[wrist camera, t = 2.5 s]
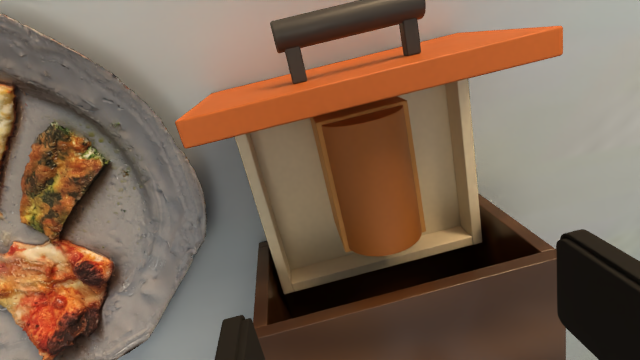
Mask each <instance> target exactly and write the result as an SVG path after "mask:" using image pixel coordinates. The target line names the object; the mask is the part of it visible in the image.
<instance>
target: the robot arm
mask: <svg viewBox="0 0 640 360" xmlns="http://www.w3.org/2000/svg"><path fill="white" fill-rule="evenodd" d="M556 251H557V313H558V317H559V319H560V321H561V323H562V324H563V325H564V326H565V327H566V328H567V329H568V330H569V331H570V332H571V333H572V334H573V335H574V336H575V337H576V338H577V339H578V340H579V341H580V342H581V343H582V344H583V345H584V346H585V347H586V348H587V349H588V350H590V351H591V352H592V353H593V354H594V355H595V356H596V357H597V358H598V359H599V360H640V261H638V260H636V259H635V258H633V257H631V256H629V255H628V254H626V253H624V252H623V251H621V250H619V249H617V248H616V247H614V246H612V245H611V244H609V243H607V242H605V241H604V240H602V239H600V238H599V237H597V236H595V235H594V234H592V233H590V232H588V231H586V230H577V231H573V232H569V233H565V234H563V235H562V236H561V238H560V240H559V241H558V242H557V245H556ZM215 360H265V357H264V354H263V351H262V348H261V345H260V342H259V339H258V336H257V333H256V330H255V328H254V325H253V322H252V320H251V319H250V318H249V319H245V317H244V316H243V315H240V316H236V317H232V318H228V319H224V320H223V322H222V327H221V332H220V337H219V341H218V346H217V351H216V356H215Z"/></svg>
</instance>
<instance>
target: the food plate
mask: <svg viewBox="0 0 640 360" xmlns="http://www.w3.org/2000/svg"><path fill="white" fill-rule="evenodd" d="M18 23H20V22H18V21H16V20H15V19H11V18H9V17H7V15H5V14H3V13H2V14H1V13H0V360H116V359H118V358H119V357H121V356H123V355H125V354H127V353H128V352H130V351H132V350H133V349H135V348H136V347H138V346H139V345H140V344H142V343H143V342H145V341H146V340H147V338H149V337H150V336H151V334H152V333H153V332H152V331H153V330H154V328H155V327H156V325H157V324H158V322H159V320H160V318H161V316H162V314H163V313H164V311H165V309H166V307H167V306H168V304H169V302H170V300H171V298H172V297H173V295H174V293H175V292H176V289H177V288H178V286H179V283H180V282H181V280H182V279H183V277H184V276H185V274H186V272H187V271H188V269H189V266H190V264H191V262H192V261H193V259H192V256H193V255H194V254H197V252H198V251H197V248H200V247H199V246H201V245H202V243H203V242H204V239H205V237H206V224H207V217H206V215H207V214H206V203H205V202H204V193H203V190H202V187H201V185H200V183H199V181H198V178H197V175H196V171H195V170H194V168H193V167H191V165H190V164H189V160H188V159H187V157H186V156H185V154H184V152H182V151H180V149H179V148H178V147H177V146H176V144H175V143H174V142H175V141H173V138H172V137H171V135H170V134H169V132H168V131H167V129H166V128H165V127H164V125H163V124H162V123H163V122H162V121H161V118H160V117H158V116H157V115H155V112H154V111H153V110H152V109H150V107H149V106H148V104H147V103H145V102H144V101H142V100H141V99H140V98H139V97H138V96H137V95H136V94H135V92H134V91H133V90H131V89H129V88H128V87H127V86H126V85H125V84H123V83H122V81H121V80H120V79H118V77H117V78H116V76H114V74H113V73H112V74H111V73H110V72H109V71H106V70H105V69H104V68H103V67H101V66H100V65H98V64H95V63H94V62H93V61H91V60H90V59H89V58H86V57H85V56H83V55H81V54H80V53H78V52H77V51H75V50H73V49H71V48H70V49H69V48H68V47H69V46H68V47H66V46H64V45H62V43H59V42H57V41H55V40H54V39H53V38H52V37H48V36H46V35H44V34H43V33H40V32H38V31H36V30H35V29H33V28H30V27H29V26H27V25H24V24H23V25H22V24H21V23H20V24H18ZM51 38H52V39H51ZM201 242H202V243H201ZM200 244H201V245H200ZM198 250H199V249H198ZM194 257H195V256H194Z"/></svg>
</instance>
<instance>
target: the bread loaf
mask: <svg viewBox="0 0 640 360" xmlns="http://www.w3.org/2000/svg"><path fill="white" fill-rule="evenodd" d="M310 120H311V125H312V129H313V133H314V137H315V141H316V146H317V150H318V154H319V158H320V162H321V167H322V171H323V175H324V179H325V184H326V188H327V192H328V196H329V200H330V205H331V209H332V213H333V217H334V221H335V224H336V227H337V230H338V233H339V236H340V238H341V241H342V244H343V247H344V250H345V252H350V251H353V252H355V253H357V254H360V255H365V256H387V255H392V254H396V253H399V252H402V251H404V250H406V249H408V248H410V247H412V246H413V245H414V244H415V243H416V242H417V241H418V240H419V239H420V237H421V234H422V233H423V232H426V227H425V220H424V213H423V206H422V199H421V192H420V185H419V178H418V171H417V165H416V158H415V151H414V144H413V137H412V130H411V123H410V116H409V109H408V103H407V100H405V99H402V98H400V97H398V96H396V97H392V98H388V99H384V100H380V101H376V102H372V103H368V104H364V105H360V106H356V107H352V108H348V109H344V110H340V111H336V112H332V113H328V114H324V115H320V116H316V117H312V118H310Z"/></svg>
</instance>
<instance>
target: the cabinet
mask: <svg viewBox="0 0 640 360" xmlns="http://www.w3.org/2000/svg"><path fill="white" fill-rule="evenodd" d="M478 199H479V210H480V221H481V233H482V243H478V244H474V245H473V244H472V245H470V246H466V247H462V248H459V249H455V250H451V251H447V252H444V253H440V254H436V255H432V256H428V257H425V258H421V259H417V260H413V261H409V262H406V263H402V264H398V265H394V266H390V267H387V268H383V269H379V270H375V271H371V272H368V273H364V274H360V275H356V276H352V277H349V278H345V279H341V280H337V281H334V282H330V283H326V284H322V285H318V286H315V287H311V288H307V289H303V290H299V291H296V292H294V291H293V292H292V293H288V294H284V293H283V290H282V286H281V283H280V280H279V277H278V274H277V270H276V267H275V264H274V261H273V258H272V254H271V251H270V248H269V245H268V242H267V241H266V242H262V243H259V249H258V262H257V276H256V290H255V303H254V317H253V325H254V328H255V330H256V333H257V336H258V339H259V342H260V345H261V348H262V351H263V354H264V357H265V360H566V327H565V326H564V325H563V324H562V323H561V321H560V319H559V317H558V313H557V251H556V249H554V248H553V247H552V246H550V245H549V244H548V243H546V242H545V241H544V240H542V239H541V238H539V237H538V236H537V235H535V234H534V233H532V232H531V231H530V230H528V229H527V228H526V227H524V226H523V225H521V224H520V223H519V222H517V221H516V220H514V219H513V218H512V217H510V216H509V215H507V214H506V213H505V212H503V211H502V210H501V209H499V208H498V207H496V206H495V205H494V204H492V203H491V202H489V201H488V200H487V199H485V198H484V197H482V196H481V195H480V194H478Z"/></svg>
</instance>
